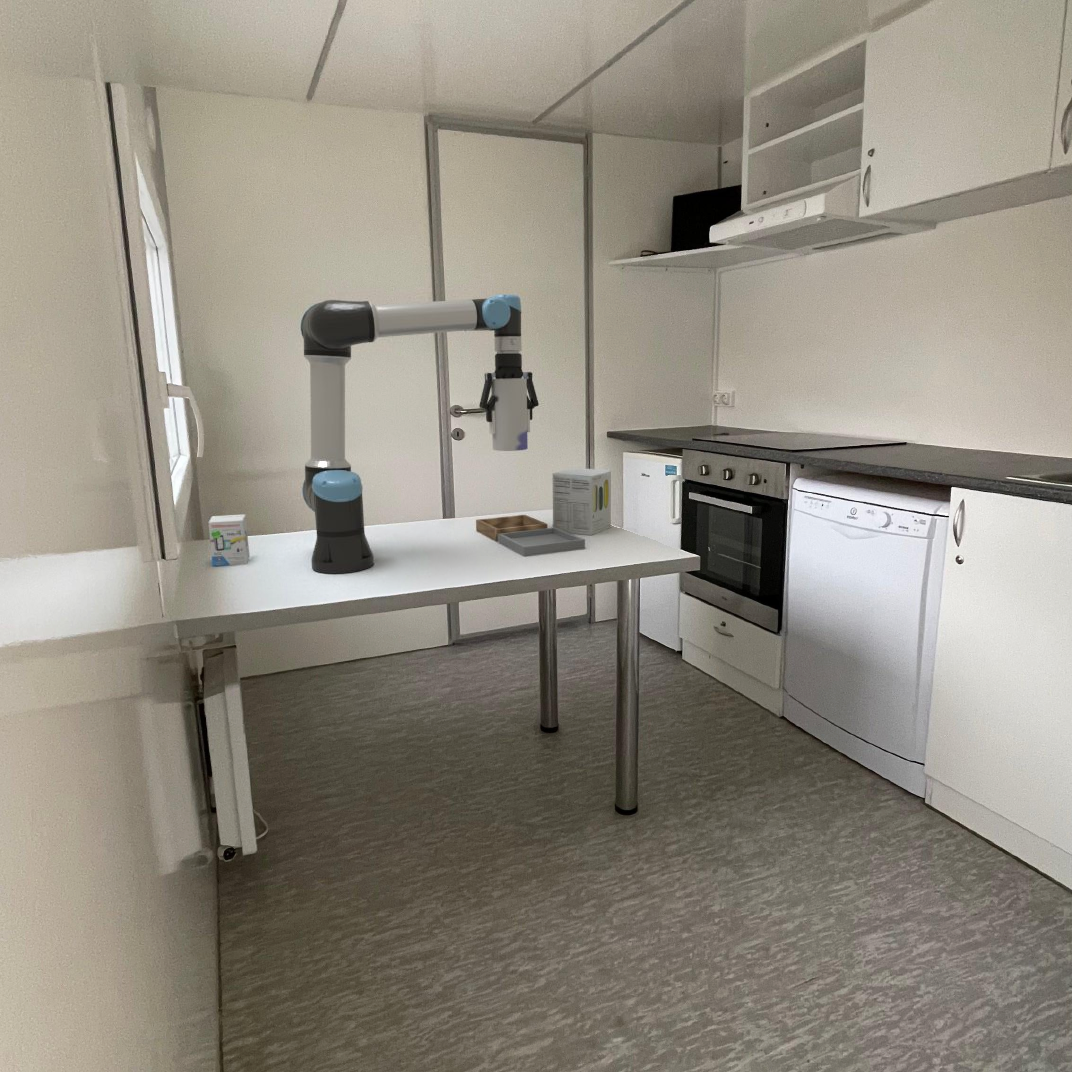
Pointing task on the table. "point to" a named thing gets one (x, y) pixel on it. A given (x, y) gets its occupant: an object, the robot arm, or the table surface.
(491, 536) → the frame
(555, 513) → the supplement box
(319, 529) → the robot arm
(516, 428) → the container
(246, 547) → the ink box
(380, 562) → the table surface
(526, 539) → the tray
